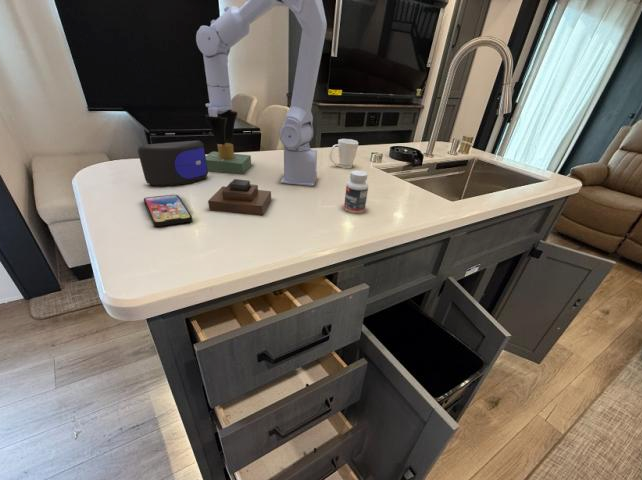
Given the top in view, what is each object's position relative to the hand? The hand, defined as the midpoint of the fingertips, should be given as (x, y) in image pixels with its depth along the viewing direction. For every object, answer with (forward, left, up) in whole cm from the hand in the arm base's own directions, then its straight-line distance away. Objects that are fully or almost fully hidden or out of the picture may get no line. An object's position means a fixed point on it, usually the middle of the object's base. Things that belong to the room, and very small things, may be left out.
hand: (225, 141), depth 94 cm
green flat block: (0, 0, -7) cm, 7 cm away
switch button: (-12, +28, -4) cm, 31 cm away
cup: (-35, -14, -8) cm, 38 cm away
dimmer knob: (0, 0, -4) cm, 4 cm away
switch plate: (-12, +28, -7) cm, 31 cm away
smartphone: (+2, +36, -8) cm, 37 cm away
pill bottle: (-39, +24, -8) cm, 46 cm away
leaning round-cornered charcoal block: (+8, +16, -8) cm, 19 cm away
